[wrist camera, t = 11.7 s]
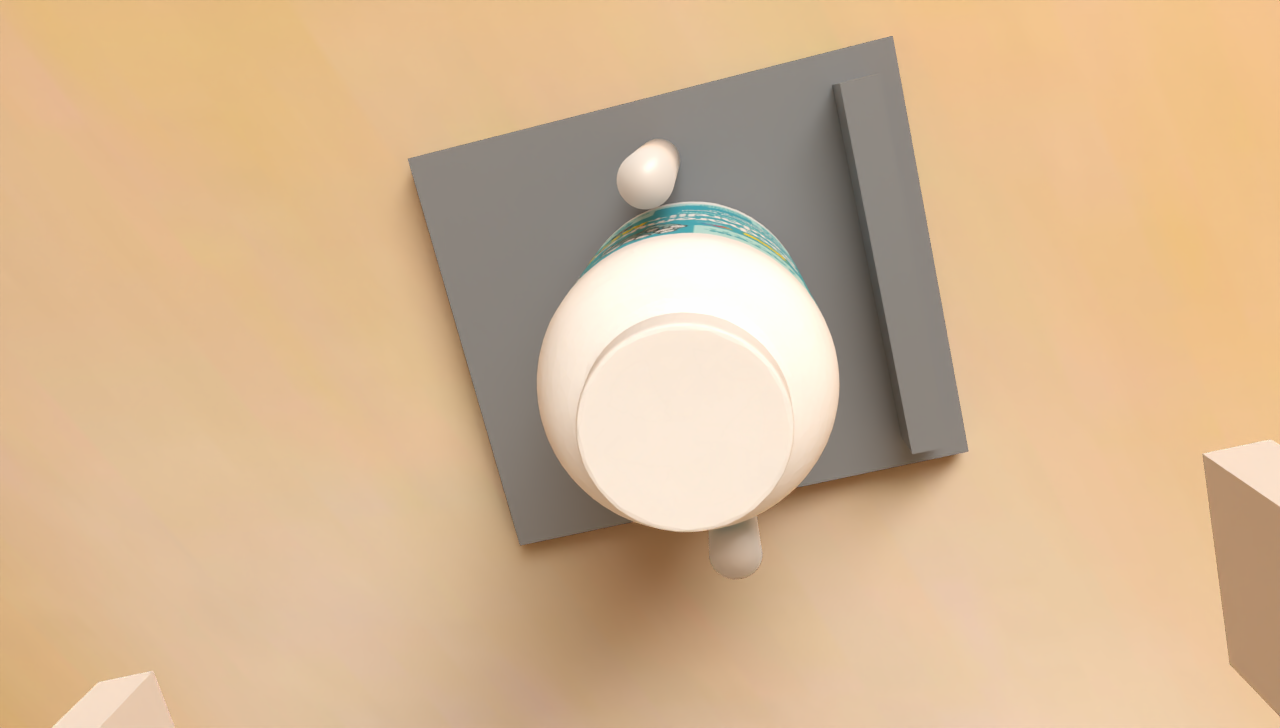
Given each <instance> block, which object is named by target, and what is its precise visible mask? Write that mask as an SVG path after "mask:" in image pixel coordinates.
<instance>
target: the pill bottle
mask: <svg viewBox="0 0 1280 728" xmlns="http://www.w3.org/2000/svg"><path fill="white" fill-rule="evenodd" d="M537 397H538V405H539V412H540V416H541V420H542V423H543V427H544V430H545V433H546V436H547V438H548V441H549V443H550V445H551V447H552V449H553V451H554V453H555V455H556V457H557V458H558V460H559V461H560V463H561V465H562V466H563V467H564V469H565V470H566V471H567V473H568V474H569V475H570V477H571V478H572V479H573V480H574V481H575V482H576V483H577V484H578V485H579V486H580V487H581V488H582V489H583V490H584V491H585V492H586V493H587V494H588V495H589V496H591V497H592V498H593V499H594V500H595V501H597V502H598V503H600V504H601V505H602V506H604V507H606V508H607V509H609V510H611V511H612V512H614V513H616V514H618V515H619V516H622V517H624V518H626V519H628V520H631V521H633V522H636V523H639V524H642V525H644V526H649V527H653V528H657V529H661V530H667V531H674V532H698V531H706V530H713V529H718V528H723V527H727V526H731V525H734V524H737V523H740V522H743V521H746V520H748V519H751V518H753V517H755V516H757V515H759V514H761V513H763V512H765V511H766V510H768V509H769V508H771V507H773V506H774V505H776V504H777V503H778V502H780V501H781V500H782V499H784V498H785V497H786V496H787V495H789V494H790V493H791V492H792V491H793V490H794V489H795V488H796V487H797V486H798V485H799V484H800V483H801V482H802V481H803V480H804V478H805V477H806V476H807V475H808V473H809V472H810V471H811V469H812V468H813V466H814V465H815V464H816V462H817V461H818V459H819V457H820V455H821V454H822V452H823V450H824V448H825V446H826V444H827V442H828V439H829V437H830V434H831V431H832V428H833V425H834V421H835V417H836V412H837V407H838V400H839V368H838V362H837V356H836V350H835V347H834V343H833V340H832V336H831V334H830V331H829V329H828V327H827V324H826V322H825V319H824V317H823V315H822V313H821V312H820V310H819V308H818V306H817V304H816V302H815V300H814V299H813V297H812V295H811V293H810V291H809V290H808V288H807V286H806V284H805V282H804V280H803V278H802V276H801V274H800V272H799V270H798V269H797V267H796V265H795V263H794V262H793V260H792V258H791V257H790V255H789V253H788V252H787V250H786V249H785V248H784V246H783V245H782V244H781V243H780V241H779V240H778V239H777V238H776V237H775V236H774V235H773V234H772V233H771V232H770V231H769V230H768V229H767V228H766V227H764V226H763V225H762V224H760V223H759V222H758V221H756V220H755V219H753V218H752V217H750V216H748V215H746V214H744V213H742V212H740V211H738V210H736V209H733V208H730V207H727V206H723V205H720V204H716V203H710V202H678V203H672V204H666V205H662V206H659V207H656V208H653V209H650V210H648V211H646V212H644V213H642V214H639V215H637V216H636V217H634V218H632V219H631V220H629V221H628V222H626V223H625V224H624V225H623V226H621V227H620V228H619V229H618V230H617V231H615V232H614V233H613V234H612V235H611V236H610V237H609V238H608V239H607V241H606V242H605V243H604V244H603V245H602V247H601V248H600V249H599V250H598V252H597V253H596V254H595V256H594V257H593V259H592V260H591V261H590V263H589V264H588V266H587V267H586V268H585V270H584V271H583V273H582V274H581V275H580V277H579V278H578V279H577V281H576V282H575V284H574V285H573V286H572V288H571V289H570V291H569V292H568V293H567V295H566V296H565V298H564V299H563V301H562V302H561V304H560V305H559V307H558V309H557V310H556V312H555V313H554V315H553V317H552V319H551V321H550V323H549V325H548V328H547V331H546V334H545V336H544V339H543V343H542V347H541V351H540V355H539V361H538V369H537Z"/></svg>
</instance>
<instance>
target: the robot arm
mask: <svg viewBox="0 0 1280 728" xmlns="http://www.w3.org/2000/svg"><path fill="white" fill-rule="evenodd" d="M1203 462H1204V470H1205V478H1206V485H1207V493H1208V501H1209V509H1210V516H1211V524H1212V532H1213V539H1214V547H1215V555H1216V563H1217V570H1218V578H1219V586H1220V594H1221V601H1222V609H1223V617H1224V624H1225V632H1226V640H1227V648H1228V655H1229V663H1230V665H1231V666H1232V667H1233V668H1234V669H1235V670H1236V671H1237V672H1238V673H1239V675H1240V676H1241V677H1242V678H1243V679H1244V680H1245V681H1246V682H1247V683H1248V684H1249V685H1250V686H1251V687H1252V688H1253V689H1254V690H1255V691H1256V692H1257V693H1258V694H1259V695H1260V696H1261V697H1262V698H1263V699H1264V701H1265V702H1266V703H1267V704H1268V705H1269V706H1270V707H1271V708H1272V709H1273V710H1274V711H1275V712H1276V713H1277V714H1278V715H1279V716H1280V445H1279V444H1278V443H1276V442H1274V441H1272V440H1266V441H1261V442H1256V443H1251V444H1247V445H1242V446H1237V447H1232V448H1227V449H1222V450H1218V451H1213V452H1208V453H1203ZM52 728H175V726H174V723H173V721H172V718H171V715H170V713H169V710H168V708H167V705H166V702H165V700H164V697H163V695H162V692H161V690H160V687H159V684H158V682H157V679H156V677H155V674H154V671H150V672H145V673H140V674H135V675H130V676H126V677H121V678H116V679H111V680H106V681H101V682H98V683H97V684H96V685H95V686H94V687H93V688H92V689H91V690H90V691H89V692H88V693H87V694H86V695H85V696H84V697H83V698H82V699H81V700H80V701H79V702H77V703H76V704H75V705H74V706H73V707H72V708H71V709H70V710H69V711H68V712H67V713H66V714H65V715H64V716H63V717H62V718H61V719H60V720H59V721H58V722H57V723H56V724H55V725H54V726H53V727H52Z"/></svg>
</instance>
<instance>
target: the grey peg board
mask: <svg viewBox="0 0 1280 728" xmlns="http://www.w3.org/2000/svg"><path fill="white" fill-rule="evenodd" d="M408 161H409V165H410V168H411V171H412V175H413V178H414V182H415V185H416V189H417V192H418V196H419V199H420V202H421V206H422V209H423V213H424V216H425V220H426V223H427V227H428V230H429V233H430V237H431V240H432V244H433V247H434V251H435V254H436V258H437V261H438V264H439V268H440V271H441V275H442V278H443V282H444V285H445V289H446V292H447V296H448V299H449V302H450V306H451V309H452V313H453V316H454V320H455V323H456V327H457V330H458V333H459V337H460V340H461V344H462V347H463V351H464V354H465V358H466V361H467V364H468V368H469V371H470V375H471V378H472V382H473V385H474V389H475V392H476V395H477V399H478V402H479V406H480V409H481V413H482V416H483V420H484V423H485V426H486V430H487V433H488V437H489V440H490V444H491V447H492V451H493V454H494V458H495V461H496V464H497V468H498V471H499V475H500V478H501V482H502V485H503V489H504V492H505V495H506V499H507V502H508V506H509V509H510V513H511V516H512V520H513V523H514V526H515V530H516V533H517V537H518V540H519V544H520V545H525V544H530V543H535V542H539V541H544V540H549V539H554V538H558V537H563V536H568V535H573V534H578V533H582V532H587V531H592V530H597V529H601V528H606V527H611V526H616V525H621V524H625V523H630V522H633V521H631V520H628V519H626V518H624V517H622V516H619V515H618V514H616V513H614V512H612V511H611V510H609V509H607V508H606V507H604V506H602V505H601V504H600V503H598V502H597V501H595V500H594V499H593V498H592V497H591V496H589V495H588V494H587V493H586V492H585V491H584V490H583V489H582V488H581V487H580V486H579V485H578V484H577V483H576V482H575V481H574V480H573V479H572V478H571V477H570V475H569V474H568V473H567V471H566V470H565V469H564V467H563V466H562V465H561V463H560V461H559V460H558V458H557V457H556V455H555V453H554V451H553V449H552V447H551V445H550V443H549V441H548V438H547V436H546V433H545V430H544V427H543V423H542V420H541V416H540V412H539V405H538V397H537V369H538V361H539V355H540V351H541V347H542V343H543V339H544V336H545V334H546V331H547V328H548V325H549V323H550V321H551V319H552V317H553V315H554V313H555V312H556V310H557V309H558V307H559V305H560V304H561V302H562V301H563V299H564V298H565V296H566V295H567V293H568V292H569V291H570V289H571V288H572V286H573V285H574V284H575V282H576V281H577V279H578V278H579V277H580V275H581V274H582V273H583V271H584V270H585V268H586V267H587V266H588V264H589V263H590V261H591V260H592V259H593V257H594V256H595V254H596V253H597V252H598V250H599V249H600V248H601V247H602V245H603V244H604V243H605V242H606V241H607V239H608V238H609V237H610V236H611V235H612V234H613V233H614V232H615V231H617V230H618V229H619V228H620V227H621V226H623V225H624V224H625V223H626V222H628V221H629V220H631V219H632V218H634V217H636V216H637V215H639V214H642V213H644V212H646V211H648V210H650V209H653V208H656V207H659V206H662V205H666V204H672V203H678V202H710V203H716V204H720V205H723V206H727V207H730V208H733V209H736V210H738V211H740V212H742V213H744V214H746V215H748V216H750V217H752V218H753V219H755V220H756V221H758V222H759V223H760V224H762V225H763V226H764V227H766V228H767V229H768V230H769V231H770V232H771V233H772V234H773V235H774V236H775V237H776V238H777V239H778V240H779V241H780V243H781V244H782V245H783V246H784V248H785V249H786V250H787V252H788V253H789V255H790V257H791V258H792V260H793V262H794V263H795V265H796V267H797V269H798V270H799V272H800V274H801V276H802V278H803V280H804V282H805V284H806V286H807V288H808V290H809V291H810V293H811V295H812V297H813V299H814V300H815V302H816V304H817V306H818V308H819V310H820V312H821V313H822V315H823V317H824V319H825V322H826V324H827V327H828V329H829V331H830V334H831V336H832V340H833V343H834V347H835V350H836V356H837V362H838V368H839V400H838V407H837V412H836V417H835V421H834V425H833V428H832V431H831V434H830V437H829V439H828V442H827V444H826V446H825V448H824V450H823V452H822V454H821V455H820V457H819V459H818V461H817V462H816V464H815V465H814V466H813V468H812V469H811V471H810V472H809V473H808V475H807V476H806V477H805V478H804V480H803V481H802V482H801V483H800V484H799V485H798V486H797V487H802V486H807V485H811V484H816V483H821V482H826V481H830V480H835V479H840V478H845V477H849V476H854V475H859V474H864V473H869V472H873V471H878V470H883V469H888V468H892V467H897V466H902V465H907V464H911V463H916V462H921V461H926V460H931V459H935V458H940V457H945V456H950V455H954V454H959V453H964V452H968V446H967V441H966V435H965V430H964V424H963V419H962V413H961V408H960V402H959V397H958V391H957V386H956V380H955V375H954V369H953V364H952V358H951V353H950V348H949V342H948V337H947V331H946V326H945V320H944V315H943V309H942V304H941V298H940V293H939V287H938V282H937V276H936V271H935V265H934V260H933V254H932V249H931V243H930V238H929V232H928V227H927V221H926V216H925V211H924V205H923V200H922V194H921V189H920V183H919V178H918V172H917V167H916V161H915V156H914V150H913V145H912V139H911V134H910V128H909V123H908V117H907V112H906V106H905V101H904V95H903V90H902V84H901V79H900V74H899V68H898V63H897V57H896V52H895V46H894V41H893V36H890V37H886V38H882V39H878V40H874V41H870V42H866V43H862V44H858V45H855V46H851V47H847V48H843V49H839V50H835V51H831V52H827V53H823V54H819V55H815V56H811V57H807V58H803V59H799V60H795V61H791V62H788V63H784V64H780V65H776V66H772V67H768V68H764V69H760V70H756V71H752V72H748V73H744V74H740V75H736V76H732V77H728V78H724V79H721V80H717V81H713V82H709V83H705V84H701V85H697V86H693V87H689V88H685V89H681V90H677V91H673V92H669V93H665V94H661V95H657V96H653V97H650V98H646V99H642V100H638V101H634V102H630V103H626V104H622V105H618V106H614V107H610V108H606V109H602V110H598V111H594V112H590V113H586V114H583V115H579V116H575V117H571V118H567V119H563V120H559V121H555V122H551V123H547V124H543V125H539V126H535V127H531V128H527V129H523V130H519V131H515V132H512V133H508V134H504V135H500V136H496V137H492V138H488V139H484V140H480V141H476V142H472V143H468V144H464V145H460V146H456V147H452V148H448V149H445V150H441V151H437V152H433V153H429V154H425V155H421V156H417V157H413V158H409V159H408ZM797 487H796V488H797ZM708 534H709V559H710V563H711V565H712V567H713V568H714V570H715V571H716V572H717V573H719V574H720V575H722V576H724V577H726V578H729V579H742V578H746V577H748V576H750V575H751V574H753V573H754V572H755V571H756V570H757V569H758V567H759V566H760V564H761V561H762V547H761V540H760V533H759V526H758V519H757V516H755V517H753V518H751V519H748V520H746V521H743V522H740V523H737V524H734V525H731V526H727V527H723V528H718V529H713V530H708Z"/></svg>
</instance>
